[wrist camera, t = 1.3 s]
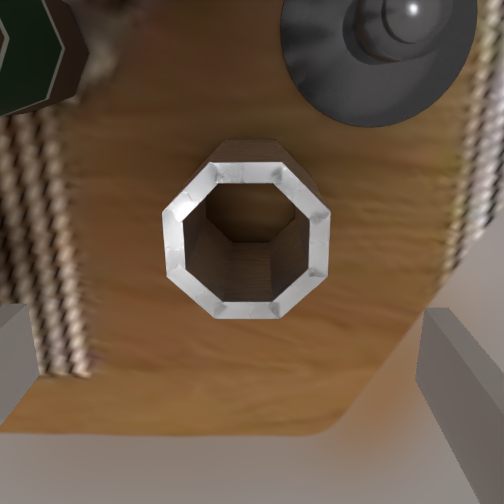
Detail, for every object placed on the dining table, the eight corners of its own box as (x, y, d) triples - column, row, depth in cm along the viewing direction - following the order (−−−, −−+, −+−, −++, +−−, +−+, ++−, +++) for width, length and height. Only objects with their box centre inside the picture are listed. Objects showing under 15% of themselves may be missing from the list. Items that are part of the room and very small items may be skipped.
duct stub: (281, -84, 28) (290, -154, 19) (487, -87, 27) (583, -160, 19) (279, 127, 32) (285, 141, 23) (458, 125, 31) (527, 139, 23)
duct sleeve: (188, 139, 32) (158, 162, 23) (311, 138, 32) (333, 161, 22) (194, 255, 35) (169, 318, 25) (307, 255, 35) (325, 318, 25)
